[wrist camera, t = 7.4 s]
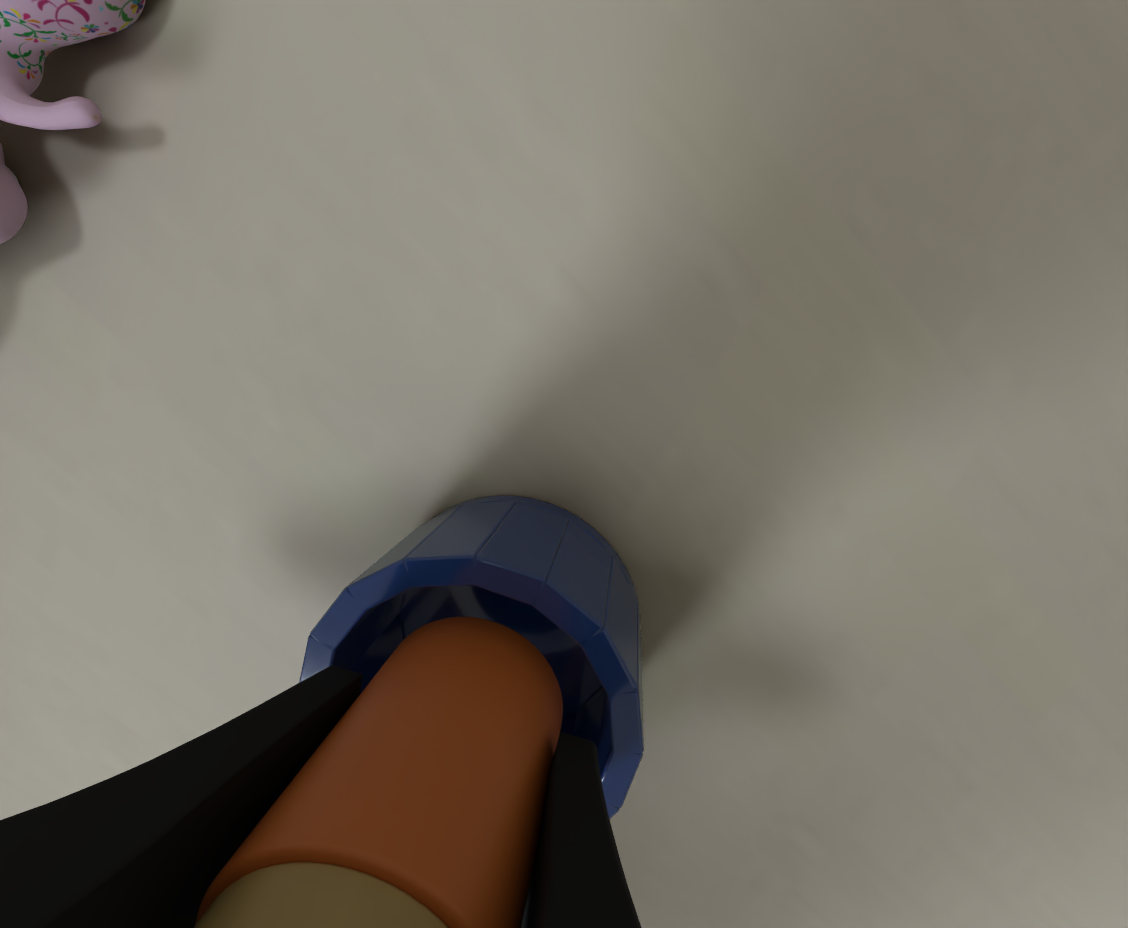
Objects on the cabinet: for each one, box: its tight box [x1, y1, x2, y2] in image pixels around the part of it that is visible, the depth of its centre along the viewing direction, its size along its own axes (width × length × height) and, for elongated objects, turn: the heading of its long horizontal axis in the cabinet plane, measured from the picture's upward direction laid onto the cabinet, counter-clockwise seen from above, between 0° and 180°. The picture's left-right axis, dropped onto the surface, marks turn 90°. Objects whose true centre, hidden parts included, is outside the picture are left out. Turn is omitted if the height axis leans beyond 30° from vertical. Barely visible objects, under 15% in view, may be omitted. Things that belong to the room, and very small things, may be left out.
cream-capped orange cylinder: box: [194, 617, 563, 928], centre depth 8 cm, size 4×4×6 cm
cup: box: [299, 496, 644, 819], centre depth 13 cm, size 7×7×4 cm
